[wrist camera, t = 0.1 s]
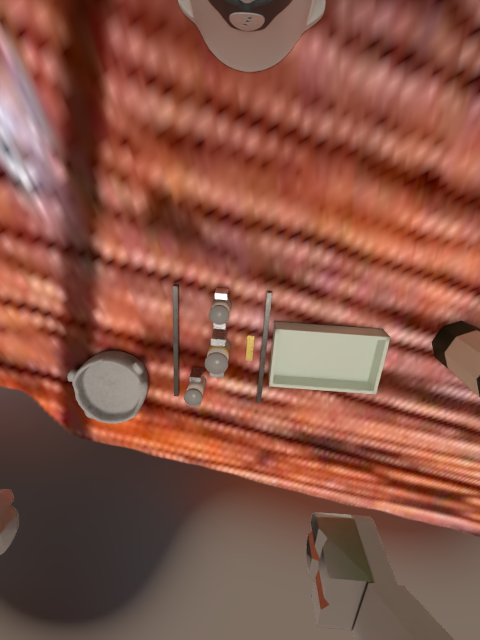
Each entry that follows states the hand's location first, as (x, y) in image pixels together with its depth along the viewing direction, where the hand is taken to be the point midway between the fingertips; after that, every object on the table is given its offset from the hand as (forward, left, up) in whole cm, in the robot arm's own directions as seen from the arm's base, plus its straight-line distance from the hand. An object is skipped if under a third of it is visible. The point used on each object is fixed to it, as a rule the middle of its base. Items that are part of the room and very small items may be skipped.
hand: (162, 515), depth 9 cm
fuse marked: (+18, -2, -48) cm, 51 cm away
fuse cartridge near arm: (+10, -2, -48) cm, 49 cm away
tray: (+18, +17, -48) cm, 54 cm away
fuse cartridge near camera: (+26, -6, -48) cm, 55 cm away
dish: (+27, -22, -48) cm, 60 cm away
